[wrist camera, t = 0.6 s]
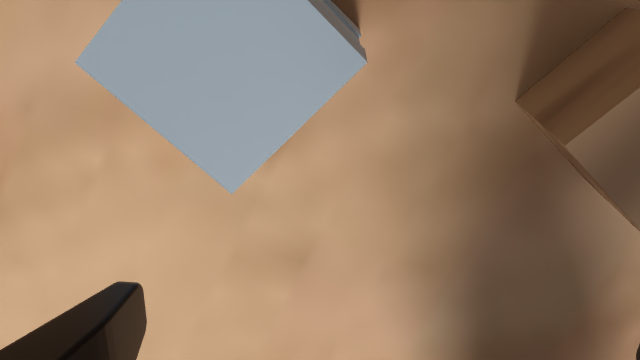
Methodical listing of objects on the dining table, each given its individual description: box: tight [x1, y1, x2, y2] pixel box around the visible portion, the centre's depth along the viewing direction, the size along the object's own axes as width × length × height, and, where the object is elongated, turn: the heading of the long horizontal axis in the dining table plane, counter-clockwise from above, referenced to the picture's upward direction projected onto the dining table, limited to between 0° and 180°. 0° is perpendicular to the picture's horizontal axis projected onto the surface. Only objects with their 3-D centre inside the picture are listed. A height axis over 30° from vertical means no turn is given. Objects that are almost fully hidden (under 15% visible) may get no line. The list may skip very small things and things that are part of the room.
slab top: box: [75, 0, 367, 194], centre depth 15 cm, size 6×6×2 cm
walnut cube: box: [515, 8, 640, 231], centre depth 18 cm, size 5×5×5 cm
